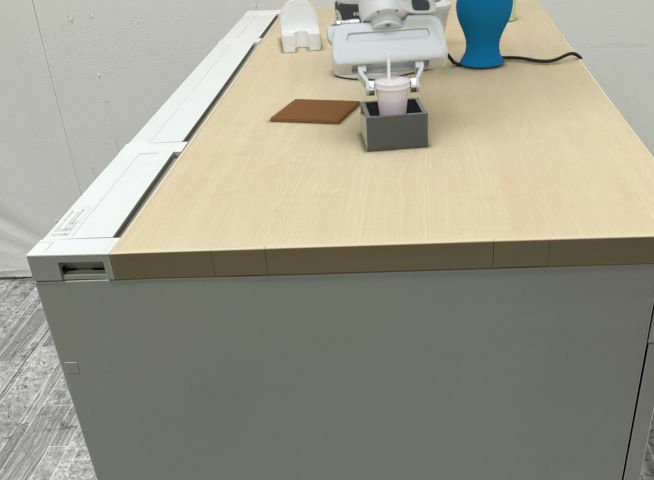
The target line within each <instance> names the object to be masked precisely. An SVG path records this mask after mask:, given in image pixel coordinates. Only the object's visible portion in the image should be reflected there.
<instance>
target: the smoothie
mask: <svg viewBox="0 0 654 480" xmlns="http://www.w3.org/2000/svg"><path fill="white" fill-rule="evenodd" d="M373 81H374V87H375V94H376V99H377V100H376V101H378V107H379V115H380V116H382V115H395V114H406V111H407V101H408V98H409V92H410V86H411V81H410V77H407V76H403V75H399V76H391V72H390V52H387V76H386V77H381V78H378V79H374V80H373Z"/></svg>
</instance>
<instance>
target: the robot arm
mask: <svg viewBox="0 0 654 480" xmlns="http://www.w3.org/2000/svg"><path fill="white" fill-rule="evenodd" d="M439 1H441V0H335V1H334V21H333V22H332V23H331V24H329V25H328V26H327V28H326V39H327V43H329V45H330V46H331V71H332V72H333V75H334V76H337V77H341V78H347V79H357V80H358V82H359V83H360V84H361V85H362V86H363V88H364V89H365V96H366V97H372V96H375V94H376V89H375V87H374V81H375V80H376V79H378V78H381V77H386V76H387V52H390V72H391V76H403V75H406V74H407V75H408V74H411V73H414V76H415V77H411V78H410V77H409V79H410V81H411V86H410V87H409V93H410V94H412V93H413V94H414V93H420V89H421V88H420V87H421V86H420V82H421V79H422V77H423V75H424V71H425V70H436V69H438V70H439V69H443V68H444V66H445V65H446V63H447V61H448V60H449V62H450V63H451V64H452V65H454V66H457V67H464V66H463V65H461V64H460V61H456V60H455V59H454V58H453V57H452V55H451V54H450V53H449V46H448V40H447V35H446V30H445V31H444V28H443V25H442V22H441V21H440V19H439V18H438V17H436V2H439ZM571 56H573V57H575V58H577V59H578V60H583V59H584V58H583V56H582V55H581V54H579V53H578V52H577V51H569V52H566V53H563V54H561V55H560V56H557V57H554V58H550V59H549V58H548V59H542V58H532V57H527V56H521V55H502V57H503V59H504V61H506V60H511V61H512V60H515V61H516V60H517V61H525V62H530V63H537V64H552V63H557V62H558V61H561V60H563V59H566V58H568V57H571Z"/></svg>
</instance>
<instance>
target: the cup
mask: <svg viewBox="0 0 654 480" xmlns="http://www.w3.org/2000/svg"><path fill="white" fill-rule="evenodd" d="M451 8H452V2H451V1H450V0H441V1H439V2H436V17H438V18H439V19H440V21H441V22H442V25H443V28H444V31H445V32H446V29H447V24H448V19H449V14H450V11H451Z"/></svg>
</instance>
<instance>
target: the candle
mask: <svg viewBox="0 0 654 480" xmlns="http://www.w3.org/2000/svg"><path fill="white" fill-rule="evenodd" d="M516 11H517V0H513V8H512V13H511V16H510V19H509V21H508V22H513V21H515V20H516Z"/></svg>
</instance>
